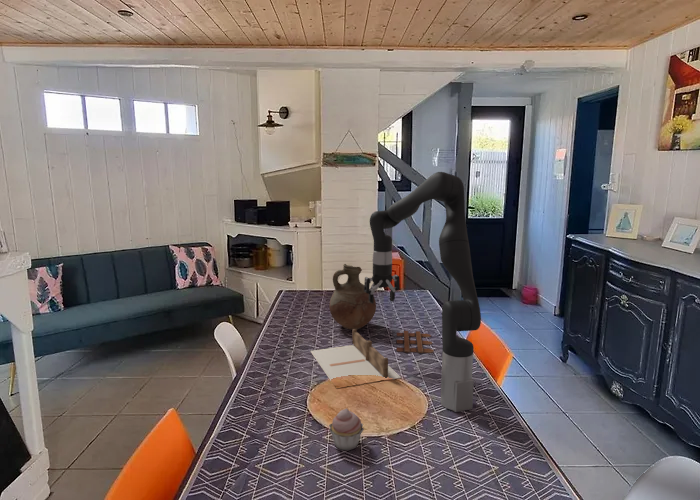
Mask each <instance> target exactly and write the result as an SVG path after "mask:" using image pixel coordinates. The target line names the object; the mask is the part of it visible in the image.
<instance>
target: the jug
mask: <svg viewBox="0 0 700 500" xmlns="http://www.w3.org/2000/svg"><path fill="white" fill-rule="evenodd" d="M362 271H363V270H362V268H361V267H360V266H353V265H350V264H348V265H347V264H346V263H344V264H343V269H338V270H336V271H335V272H334V274H333V275H332V282H333V287H334V290H333V293H332V295H331V297H330V300H329V307H328V308H329V312H330V315H331V317H332V319H333V320H334V321H335V322H336V323H337V324H338V325H340V326H342V328H343V329H347V330H352V329H357V330H359V329H362V328H364V327H365V326H366V325H368V324H369V323H370V322H371V321H372V320H373V318H374V316H375V314H376V310H377V301H376V299H375V297H374V303H373V304H371V303H370V302H369V294H368V293H366V292H364V284H363V283H361V281H360V274H361V273H362ZM343 275H347V279H346V282H344V283H340V282H339V277H340V276H343Z"/></svg>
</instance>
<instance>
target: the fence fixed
mask: <svg viewBox="0 0 700 500" xmlns="http://www.w3.org/2000/svg"><path fill="white" fill-rule="evenodd" d="M366 361H369V362H370V363H371V364H372V365H373V366H374V367H375V368H376V369H377V370H378V371H379V372H380V373H381V374H382V375H383V377H385V378H387V377H388V365H389V357H387V356H385V357H384V356H383V355H382V353H380V352H379V351H378V350H377V349H376V348H375V347H374V346H373V341H372V340H366Z"/></svg>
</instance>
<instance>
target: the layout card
mask: <svg viewBox="0 0 700 500" xmlns="http://www.w3.org/2000/svg"><path fill="white" fill-rule="evenodd" d="M310 353H311V354H312V356H313V357H314V358H315V360H316V362H317V363H318V365H319V366H320V368H321V369H322V371H323V372H324V373H325V375H326V376H327V377H328V379H329V380H330V381H331V379H333V378H336V377H341V376H348V375H376V376H377V375H378V376H382V377H383V375H382V374H381V373H380V372H379V371H378V370H377V369H376V368H375V367H374V366H373V365H372V364H371V363H370V362H369V361H366V357H365V356H364V355H363V354H362V353H361V351H360V350H359V349H358V348H357V347H356V346H355V345H354V344H351V345H344V346H337V347H329V348H323V349H321V348H320V349H315V350H310ZM388 377H389V378H393V379H392V380H397V379H401V378H402V377H401V375H400V374H398V373H397V372H396V371H395V370H394V369H393V368H392V367H391V366H390V365H389V364H388Z"/></svg>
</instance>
